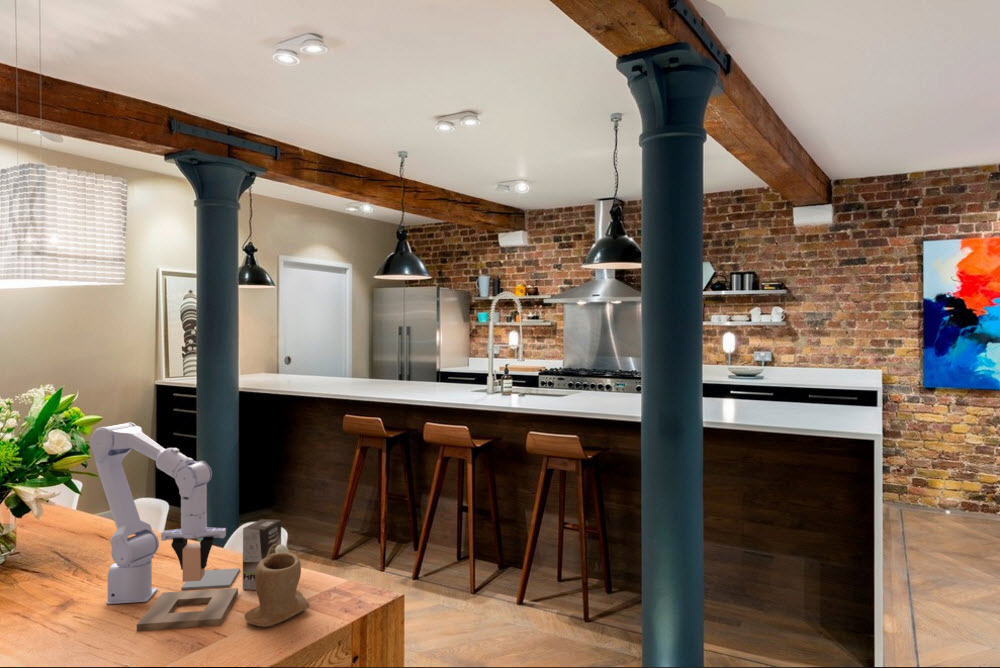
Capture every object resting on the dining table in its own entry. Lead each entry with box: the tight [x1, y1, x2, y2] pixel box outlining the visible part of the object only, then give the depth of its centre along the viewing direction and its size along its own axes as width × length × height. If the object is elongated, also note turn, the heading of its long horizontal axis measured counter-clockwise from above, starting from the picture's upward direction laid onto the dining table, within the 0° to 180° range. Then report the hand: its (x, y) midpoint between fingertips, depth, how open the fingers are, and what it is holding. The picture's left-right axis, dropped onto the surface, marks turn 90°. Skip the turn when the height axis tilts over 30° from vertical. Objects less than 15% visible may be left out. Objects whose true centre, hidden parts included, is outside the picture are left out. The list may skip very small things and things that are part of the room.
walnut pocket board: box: [136, 587, 239, 632], centre depth 161 cm, size 18×18×2 cm
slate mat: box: [181, 567, 241, 591], centre depth 181 cm, size 12×12×1 cm
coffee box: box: [242, 518, 282, 591], centre depth 178 cm, size 9×6×16 cm
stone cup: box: [244, 552, 310, 628], centre depth 158 cm, size 15×12×15 cm
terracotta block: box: [182, 542, 206, 583], centre depth 164 cm, size 4×4×8 cm
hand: (193, 567), depth 164 cm, fingers closed on terracotta block, 4 cm apart
